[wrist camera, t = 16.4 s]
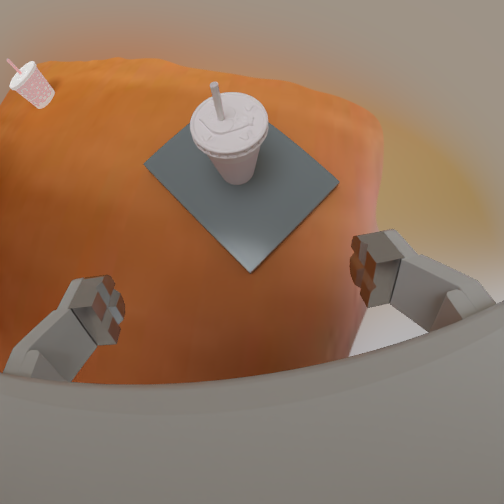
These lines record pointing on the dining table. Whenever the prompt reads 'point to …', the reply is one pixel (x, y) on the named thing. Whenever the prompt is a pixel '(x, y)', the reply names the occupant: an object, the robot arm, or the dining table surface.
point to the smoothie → (230, 132)
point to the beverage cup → (31, 85)
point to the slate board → (245, 193)
